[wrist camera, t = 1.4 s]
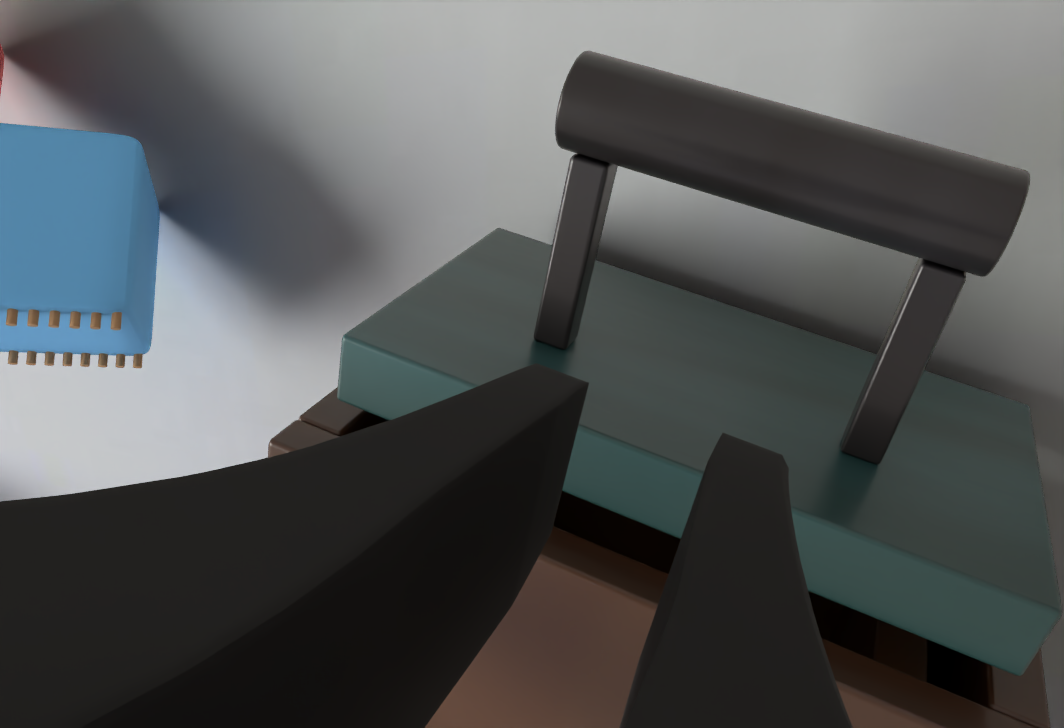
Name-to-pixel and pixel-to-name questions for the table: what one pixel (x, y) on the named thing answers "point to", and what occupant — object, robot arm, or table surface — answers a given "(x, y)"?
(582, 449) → the drawer
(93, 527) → the robot arm
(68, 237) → the building blocks
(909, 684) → the cabinet
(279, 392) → the table surface
